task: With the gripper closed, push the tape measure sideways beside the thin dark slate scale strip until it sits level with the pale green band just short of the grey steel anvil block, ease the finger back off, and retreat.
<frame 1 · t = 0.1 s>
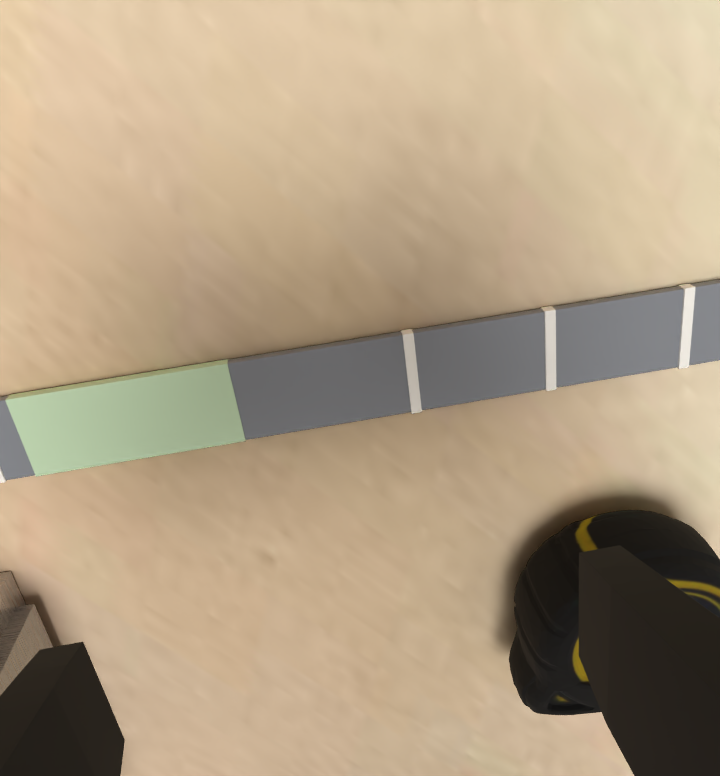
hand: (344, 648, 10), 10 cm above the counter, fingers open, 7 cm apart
scale strip: (341, 381, 19), on the counter
tape measure: (600, 583, 24), on the counter
anvil: (18, 693, 23), on the counter
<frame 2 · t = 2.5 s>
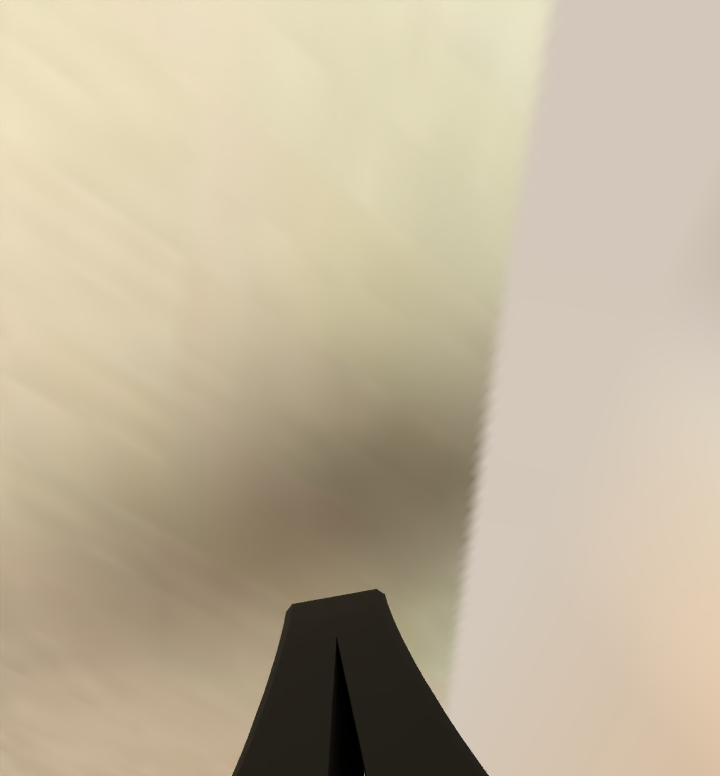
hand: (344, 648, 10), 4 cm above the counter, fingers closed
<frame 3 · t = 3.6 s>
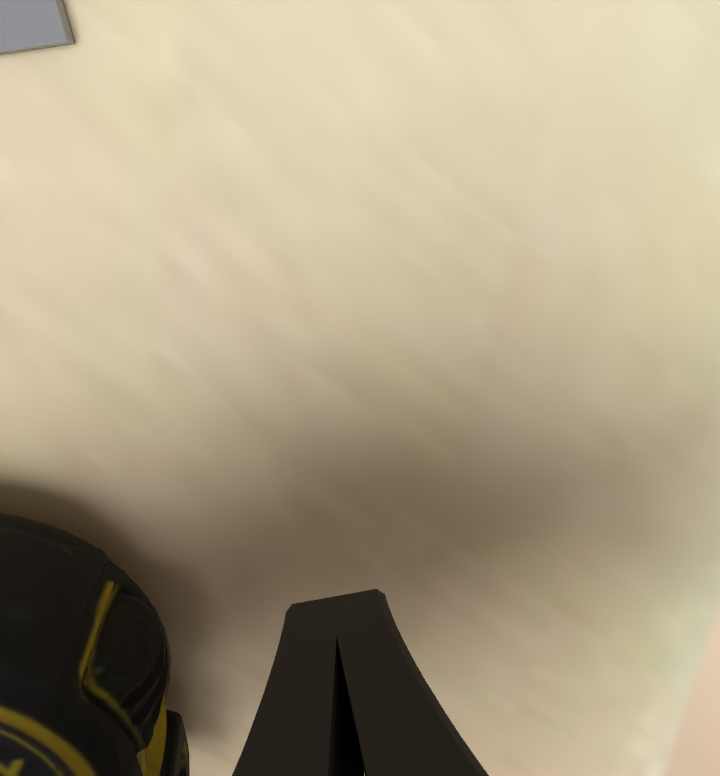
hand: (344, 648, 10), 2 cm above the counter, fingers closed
tape measure: (30, 646, 13), on the counter
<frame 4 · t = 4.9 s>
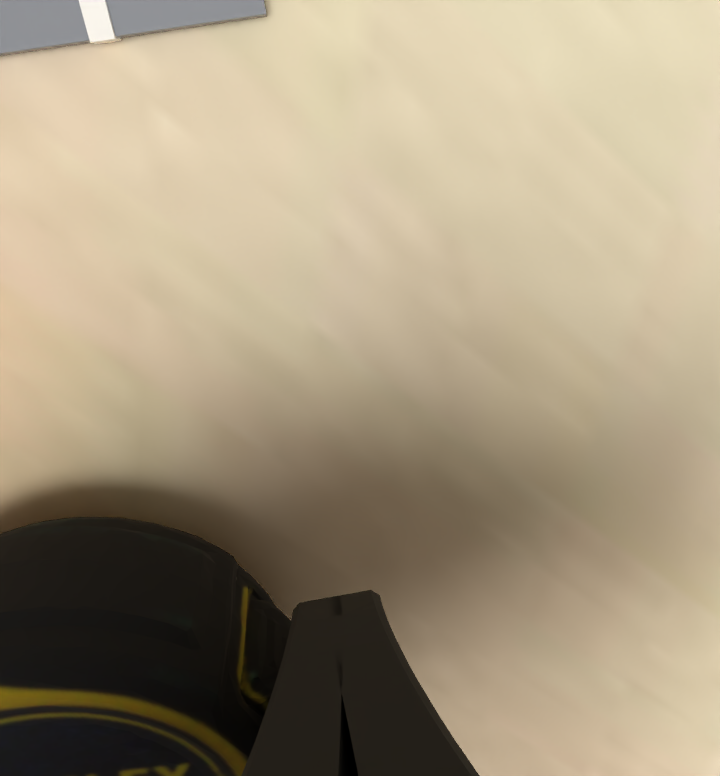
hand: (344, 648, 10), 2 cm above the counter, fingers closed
tape measure: (143, 651, 13), on the counter, touching gripper
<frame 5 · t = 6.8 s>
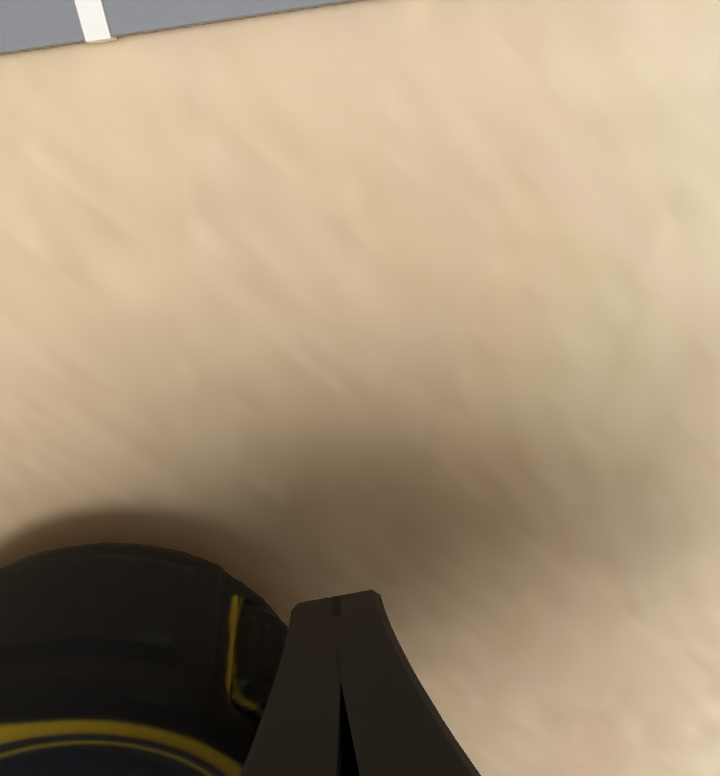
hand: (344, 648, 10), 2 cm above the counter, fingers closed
tape measure: (160, 668, 13), on the counter, touching gripper
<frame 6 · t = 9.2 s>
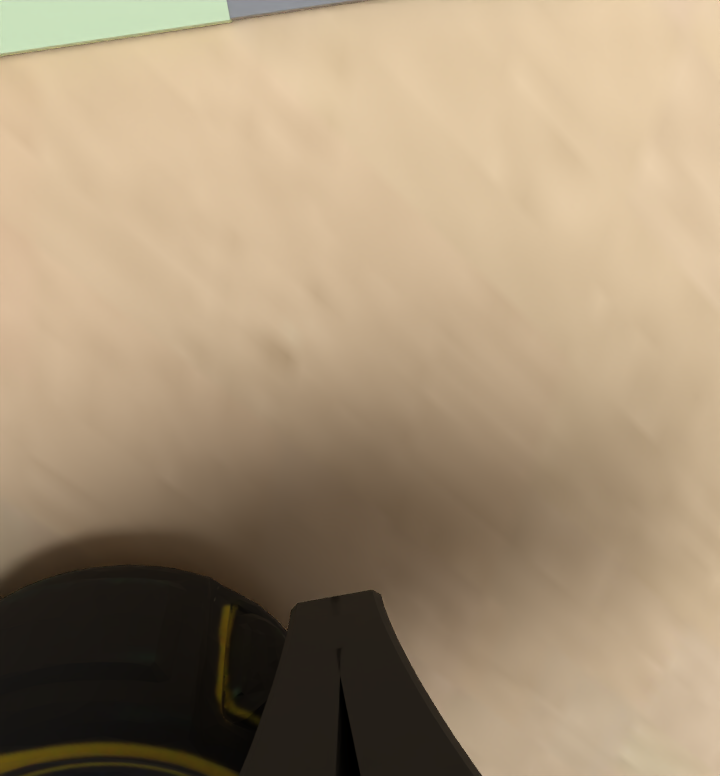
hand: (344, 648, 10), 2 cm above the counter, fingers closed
tape measure: (176, 681, 13), on the counter, touching gripper
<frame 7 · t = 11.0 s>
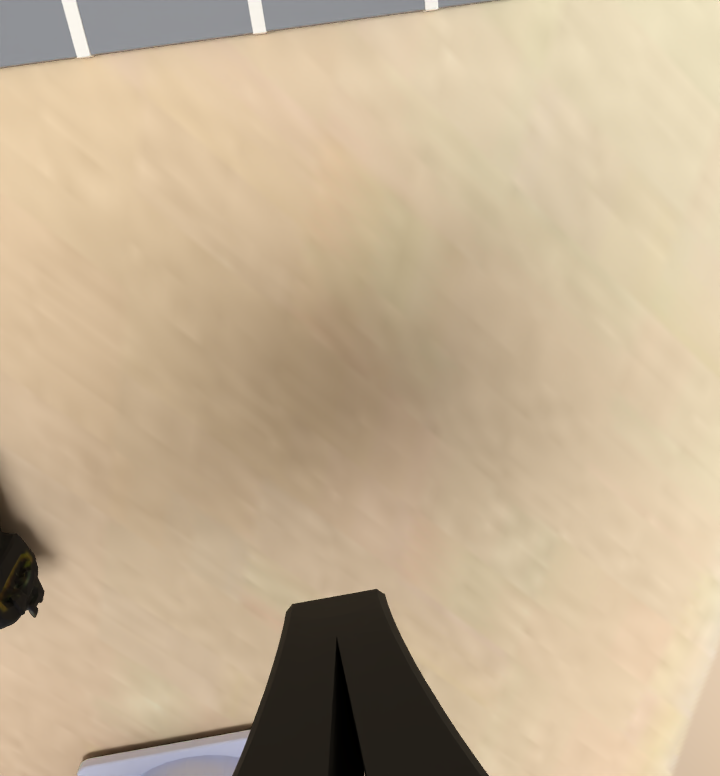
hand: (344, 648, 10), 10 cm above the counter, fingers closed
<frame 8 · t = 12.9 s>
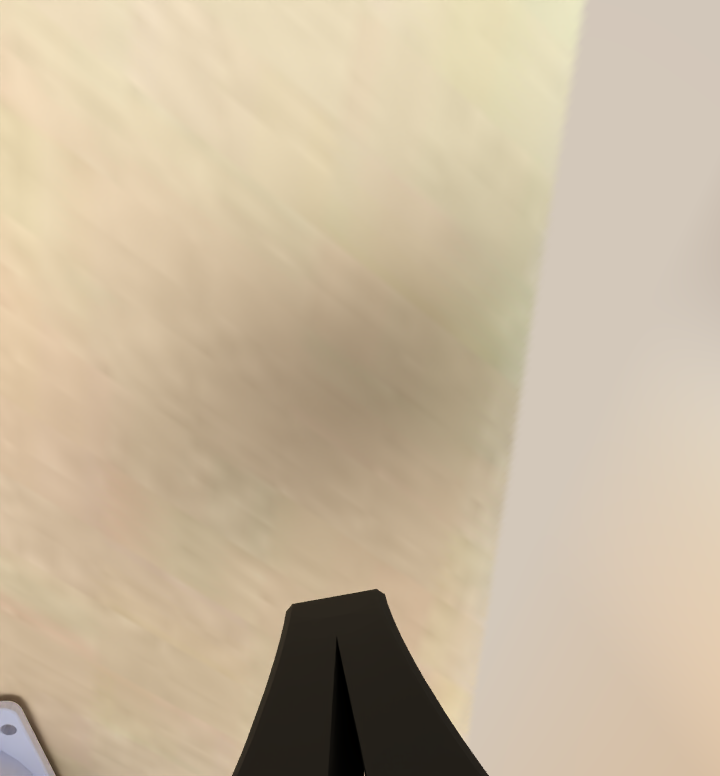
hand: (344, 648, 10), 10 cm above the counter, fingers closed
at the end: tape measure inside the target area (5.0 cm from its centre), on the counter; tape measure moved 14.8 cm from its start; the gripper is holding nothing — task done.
